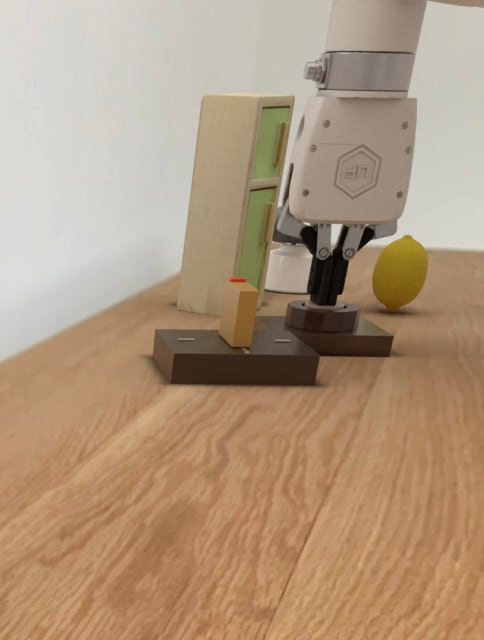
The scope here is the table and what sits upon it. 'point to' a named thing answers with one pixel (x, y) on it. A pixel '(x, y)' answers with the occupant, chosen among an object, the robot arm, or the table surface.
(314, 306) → the bell button
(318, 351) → the block
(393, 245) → the lemon
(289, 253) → the inkwell
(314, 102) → the robot arm
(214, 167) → the toy refrigerator
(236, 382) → the plate
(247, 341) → the lock knob
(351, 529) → the table surface
